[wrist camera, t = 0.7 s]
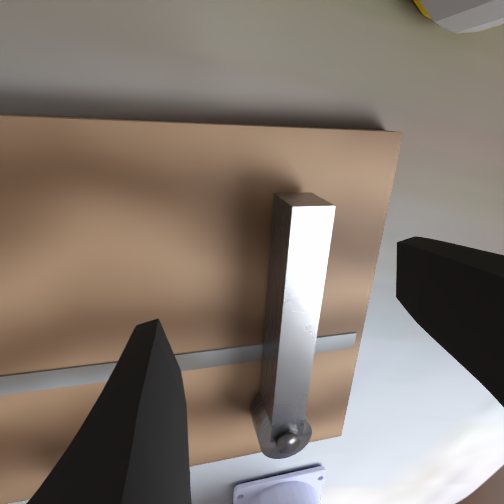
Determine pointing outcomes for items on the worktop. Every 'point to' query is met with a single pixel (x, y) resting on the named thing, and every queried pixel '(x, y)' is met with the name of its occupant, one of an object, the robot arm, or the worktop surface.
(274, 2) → the worktop surface
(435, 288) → the robot arm
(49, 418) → the latch board
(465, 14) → the soap bottle
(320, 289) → the swing bar
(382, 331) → the worktop surface
